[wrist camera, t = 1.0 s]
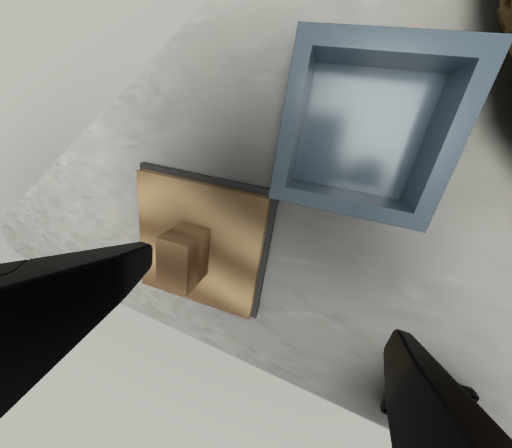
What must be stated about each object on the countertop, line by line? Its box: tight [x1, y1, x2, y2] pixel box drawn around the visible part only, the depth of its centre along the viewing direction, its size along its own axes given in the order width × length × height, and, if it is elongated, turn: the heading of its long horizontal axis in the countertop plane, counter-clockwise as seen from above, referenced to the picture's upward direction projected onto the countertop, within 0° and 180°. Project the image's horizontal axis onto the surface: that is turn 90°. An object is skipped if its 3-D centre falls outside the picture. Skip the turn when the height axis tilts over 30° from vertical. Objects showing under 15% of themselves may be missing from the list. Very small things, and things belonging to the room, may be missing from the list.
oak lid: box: [137, 169, 271, 319], centre depth 23 cm, size 13×13×5 cm
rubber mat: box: [140, 162, 278, 318], centre depth 25 cm, size 14×14×1 cm
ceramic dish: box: [268, 22, 512, 233], centre depth 16 cm, size 10×10×4 cm
